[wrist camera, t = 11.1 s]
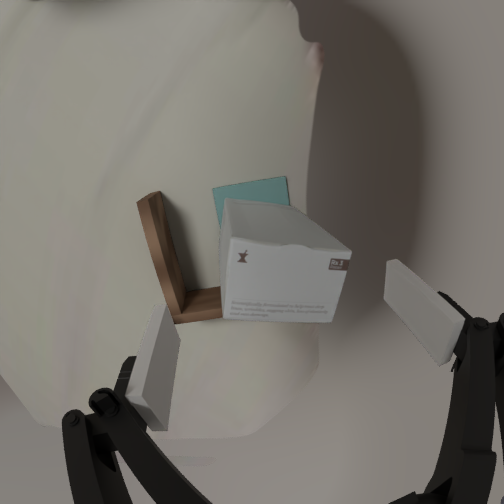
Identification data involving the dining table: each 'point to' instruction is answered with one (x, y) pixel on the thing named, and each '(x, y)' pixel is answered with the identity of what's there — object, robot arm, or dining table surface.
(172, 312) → the wooden corner bracket
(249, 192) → the pad
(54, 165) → the dining table surface
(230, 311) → the skincare box
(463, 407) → the robot arm
